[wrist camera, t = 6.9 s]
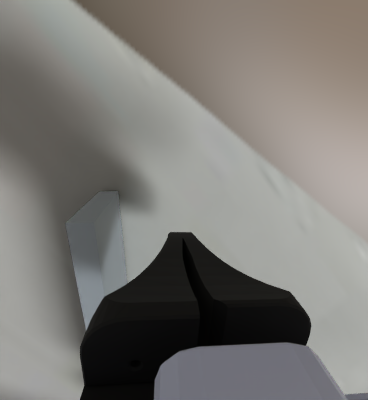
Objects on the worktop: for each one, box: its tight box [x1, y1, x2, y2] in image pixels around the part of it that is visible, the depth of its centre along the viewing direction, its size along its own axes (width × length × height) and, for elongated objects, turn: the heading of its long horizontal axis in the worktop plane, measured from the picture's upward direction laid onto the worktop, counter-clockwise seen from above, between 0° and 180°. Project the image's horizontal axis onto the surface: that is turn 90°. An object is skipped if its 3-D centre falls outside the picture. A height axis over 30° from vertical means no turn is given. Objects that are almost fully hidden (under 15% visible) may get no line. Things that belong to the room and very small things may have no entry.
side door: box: [65, 191, 127, 330], centre depth 14 cm, size 17×2×5 cm, turn 179°
